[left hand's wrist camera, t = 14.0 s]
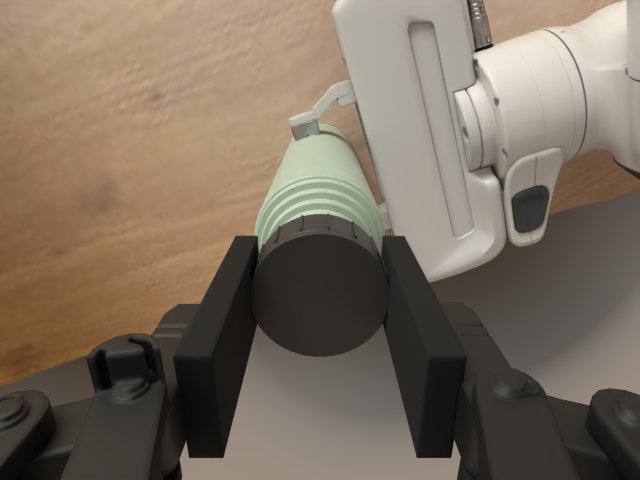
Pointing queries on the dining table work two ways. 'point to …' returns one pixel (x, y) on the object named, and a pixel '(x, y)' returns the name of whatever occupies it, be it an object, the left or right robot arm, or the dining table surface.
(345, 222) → the cap
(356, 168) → the bottle
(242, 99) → the dining table surface
